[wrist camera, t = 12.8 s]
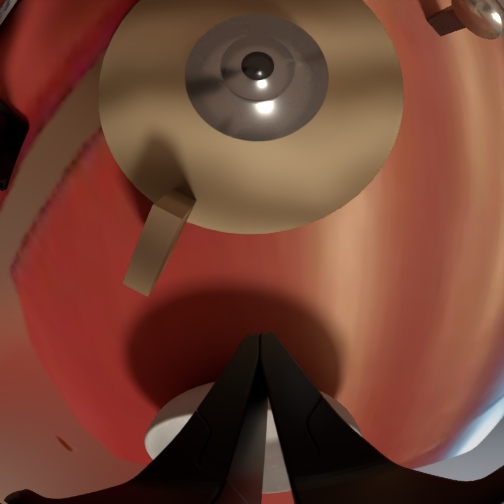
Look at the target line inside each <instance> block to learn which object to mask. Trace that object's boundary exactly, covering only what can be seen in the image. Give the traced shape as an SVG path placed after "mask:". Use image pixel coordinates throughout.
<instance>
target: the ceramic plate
mask: <svg viewBox="0 0 504 504" xmlns="http://www.w3.org/2000/svg"><path fill="white" fill-rule="evenodd" d="M16 1H17V0H0V25H1V24H2V22H3V20H4V19H5V17H6V16H7V14H8V13H9V11H10V10H11V9H12V7H13V6H14V4H15V3H16Z"/></svg>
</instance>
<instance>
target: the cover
mask: <svg viewBox="0 0 504 504" xmlns="http://www.w3.org/2000/svg"><path fill="white" fill-rule="evenodd" d="M328 84H329V72H328V67H327V62H326V59H325V57H324V54H323V52H322V50H321V48H320V47H319V45H318V44H317V43H316V41H315V40H314V39H313V38H312V37H311V36H310V35H309V34H308V33H307V32H306V31H305V30H304V29H302V28H301V27H299V26H298V25H296V24H295V23H293V22H290V21H288V20H286V19H283V18H280V17H277V16H273V15H267V14H246V15H240V16H236V17H232V18H229V19H227V20H224V21H222V22H220V23H218V24H216V25H215V26H213V27H212V28H211V29H209V30H208V31H207V32H206V33H205V34H204V35H202V37H201V38H200V39H199V40H198V41H197V43H196V44H195V46H194V47H193V49H192V51H191V53H190V55H189V57H188V61H187V64H186V70H185V85H186V91H187V94H188V97H189V100H190V102H191V104H192V106H193V108H194V109H195V111H196V112H197V113H198V115H199V116H200V117H201V118H202V119H203V120H204V121H205V122H206V123H207V124H208V125H210V126H211V127H212V128H214V129H215V130H217V131H219V132H221V133H223V134H225V135H227V136H230V137H233V138H235V139H240V140H245V141H270V140H275V139H279V138H283V137H285V136H288V135H290V134H292V133H294V132H296V131H298V130H300V129H301V128H302V127H304V126H305V125H306V124H308V123H309V122H310V121H311V120H312V119H313V118H314V116H315V115H316V114H317V113H318V111H319V110H320V108H321V106H322V105H323V102H324V100H325V98H326V94H327V90H328Z"/></svg>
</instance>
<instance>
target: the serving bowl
mask: <svg viewBox="0 0 504 504" xmlns="http://www.w3.org/2000/svg"><path fill="white" fill-rule="evenodd" d="M214 383H215V382H212V383H208V384H205V385H201V386H198V387H195V388H193V389H190V390H188V391H186V392H184V393H182V394H180V395H178V396H177V397H175V398H173V399H172V400H171V401H169V402H168V403H167V404H166V405H165V406H164V407H163V408H162V409H161V410H160V411H159V412H158V413H157V415H156V416H155V418H154V419H153V421H152V422H151V424H150V426H149V428H148V430H147V432H146V434H145V438H144V443H145V447H146V450H147V452H148V454H149V455H150V456H151V458H152V459H153V460H154V459H155V458H156V457H157V455H158V454H159V453H160V452H161V451H162V450H163V449H164V448H165V447H166V446H167V445H168V444H169V443H170V442H171V441H172V440H173V439H174V437H175V436H176V435H177V434H178V433H179V432H180V430H181V429H182V428H183V427H184V425H185V424H186V423H187V421H188V420H189V419H190V417H191V416H192V414H193V413H194V412H195V411H197V408H198V406H199V405H200V403H201V402H202V400H203V399H204V398H205V396H206V395H207V393H208V392H209V390H210V389H211V387H212V386H213V384H214ZM320 392H321V391H320ZM321 394H322V395H323V397H324V398H325V399H326V400H327V401H328V402H329V404H330V405H331V406H332V407H333V408H334V410H335V411H336V412H337V413H338V414H339V415H340V416H341V418H342V419H343V420H344V421H346V422H347V423H348V424H349V425H350V426H351V427H352V428H353V429H354V430H355V431H356V432H357V433H358V434H360V435H361V436H362V437H363V435H362V433H361V430H360V429H359V427H358V425H357V423H356V421H355V420H354V418H353V417H352V415H351V414H350V413H349V411H348V410H347V409H346V408H345V407H344V406H343V405H342V404H340V403H339V402H338V401H337V400H335V399H334V398H332V397H331V396H329V395H327V394H325V393H323V392H321ZM285 491H291V489H290V485H289V481H288V477H287V473H286V469H285V465H284V461H283V457H282V453H281V449H280V445H279V441H278V437H277V432H276V428H275V424H274V420H273V416H272V412H271V407H270V403H269V399H268V414H267V431H266V446H265V461H264V475H263V488H262V493H276V492H285Z"/></svg>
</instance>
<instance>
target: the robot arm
mask: <svg viewBox="0 0 504 504" xmlns="http://www.w3.org/2000/svg"><path fill="white" fill-rule="evenodd" d="M27 133H28V125H27V124H26V123H25V122H24V121H23V120H22V119H21V118H20V117H19V116H18V115H17V114H15V113H14V112H13V111H12V110H11V109H10V108H9V107H8V106H7V105H6V104H5V103H4V102H3V101H2V100H1V99H0V190H1V191H4V190H6V189H7V186H8V183H9V180H10V177H11V174H12V171H13V168H14V165H15V162H16V160H17V157H18V154H19V152H20V149H21V147H22V144H23V142H24V139H25V137H26V135H27ZM268 399H269V403H270V407H271V412H272V416H273V420H274V424H275V428H276V432H277V437H278V441H279V445H280V449H281V453H282V457H283V461H284V465H285V469H286V473H287V477H288V481H289V485H290V489H291V493H292V497H293V500H294V504H504V465H503V466H502V467H500V468H499V469H497V470H496V471H494V472H493V473H491V474H490V475H488V476H486V477H485V478H482V479H479V480H475V481H457V480H452V479H448V478H443V477H439V476H435V475H431V474H427V473H423V472H419V471H416V470H412V469H409V468H405V467H402V466H400V465H398V464H396V463H394V462H392V461H391V460H389V459H388V458H387V457H385V456H384V455H383V454H382V453H380V452H379V451H378V450H377V449H376V448H375V447H373V446H372V445H371V444H370V443H369V442H368V441H366V440H365V439H364V438H363V437H362V436H361V435H360V434H358V433H357V432H356V431H355V430H354V429H353V428H352V427H351V426H350V425H349V424H348V423H347V422H346V421H344V420H343V419H342V418H341V416H340V415H339V414H338V413H337V412H336V411H335V410H334V408H333V407H332V406H331V405H330V404H329V402H328V401H327V400H326V399H325V398H324V397H323V395H322V394H321V392H320V391H319V390H318V389H317V387H316V386H315V385H314V384H313V382H312V381H311V380H310V378H309V377H308V376H307V375H306V373H305V372H304V371H303V369H302V368H301V367H300V366H299V364H298V363H297V362H296V360H295V359H294V358H293V356H292V355H291V354H290V353H289V351H288V350H287V349H286V347H285V346H284V345H283V343H282V342H281V341H280V339H279V338H278V337H277V335H276V334H275V333H274V332H265V333H261V335H260V334H250V335H247V336H246V337H245V338H244V340H243V341H242V343H241V344H240V346H239V347H238V349H237V350H236V352H235V353H234V355H233V356H232V358H231V359H230V361H229V362H228V364H227V365H226V367H225V368H224V370H223V371H222V373H221V374H220V376H219V377H218V379H217V380H216V382H215V383H214V384H213V386H212V387H211V389H210V390H209V392H208V393H207V395H206V396H205V398H204V399H203V400H202V402H201V403H200V405H199V406H198V408H197V411H195V412H194V413H193V414H192V416H191V417H190V419H189V420H188V421H187V423H186V424H185V425H184V427H183V428H182V429H181V430H180V432H179V433H178V434H177V435H176V436H175V437H174V439H173V440H172V441H171V442H170V443H169V444H168V445H167V446H166V447H165V448H164V449H163V450H162V451H161V452H160V453H159V454H158V455H157V457H156V458H155V459H154V460H153V461H152V462H151V463H150V464H149V465H148V466H147V467H146V468H145V469H144V470H143V471H141V472H140V473H139V474H138V475H137V476H135V477H134V478H133V479H131V480H129V481H128V482H126V483H123V484H121V485H117V486H114V487H110V488H107V489H103V490H100V491H96V492H92V493H87V494H83V495H78V496H74V497H69V498H63V499H52V498H46V497H43V496H41V495H39V494H37V493H35V492H33V491H31V490H29V489H24V490H21V491H16V492H13V493H11V494H9V495H8V496H7V497H6V498H5V499H4V501H5V502H6V503H8V504H261V499H262V488H263V475H264V461H265V446H266V431H267V414H268ZM0 504H1V503H0Z"/></svg>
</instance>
